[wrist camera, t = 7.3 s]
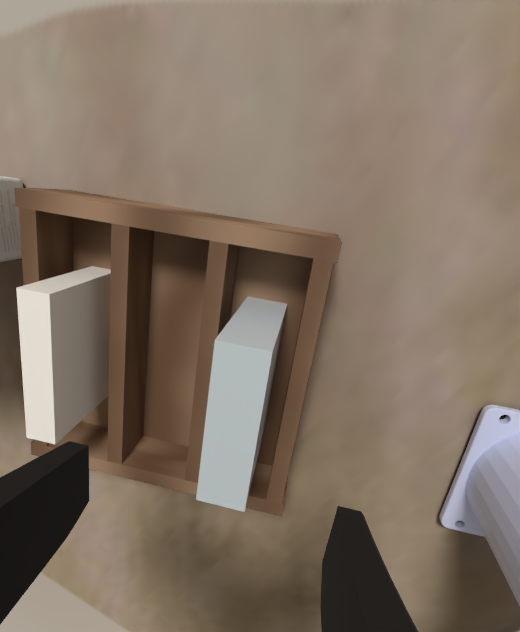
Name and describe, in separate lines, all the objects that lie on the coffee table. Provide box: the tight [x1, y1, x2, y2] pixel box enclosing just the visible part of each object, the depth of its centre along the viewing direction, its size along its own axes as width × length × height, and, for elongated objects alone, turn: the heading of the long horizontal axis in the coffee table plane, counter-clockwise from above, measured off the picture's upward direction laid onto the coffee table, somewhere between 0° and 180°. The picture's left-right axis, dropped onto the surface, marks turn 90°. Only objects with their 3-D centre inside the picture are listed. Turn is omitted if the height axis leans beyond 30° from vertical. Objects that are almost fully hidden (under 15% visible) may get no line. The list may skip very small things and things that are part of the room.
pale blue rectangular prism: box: [196, 297, 287, 512], centre depth 16 cm, size 2×7×6 cm, turn 172°
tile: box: [16, 266, 111, 444], centre depth 17 cm, size 1×7×5 cm, turn 172°
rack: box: [14, 187, 342, 516], centre depth 19 cm, size 14×14×4 cm
